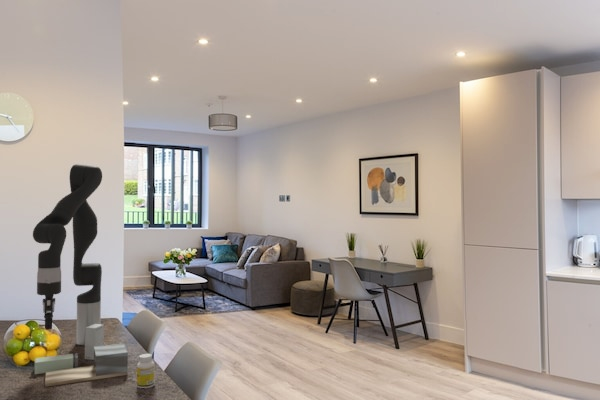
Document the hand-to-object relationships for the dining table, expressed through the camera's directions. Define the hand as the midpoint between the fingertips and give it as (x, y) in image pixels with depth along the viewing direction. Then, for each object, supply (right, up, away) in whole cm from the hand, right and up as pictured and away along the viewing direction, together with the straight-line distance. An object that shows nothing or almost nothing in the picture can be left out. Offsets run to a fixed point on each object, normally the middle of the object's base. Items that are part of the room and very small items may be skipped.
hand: (48, 326), depth 168 cm
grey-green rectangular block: (+2, -15, +1) cm, 16 cm away
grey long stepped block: (+16, -15, -4) cm, 23 cm away
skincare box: (+10, -16, +14) cm, 23 cm away
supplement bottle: (+39, -16, -14) cm, 44 cm away
